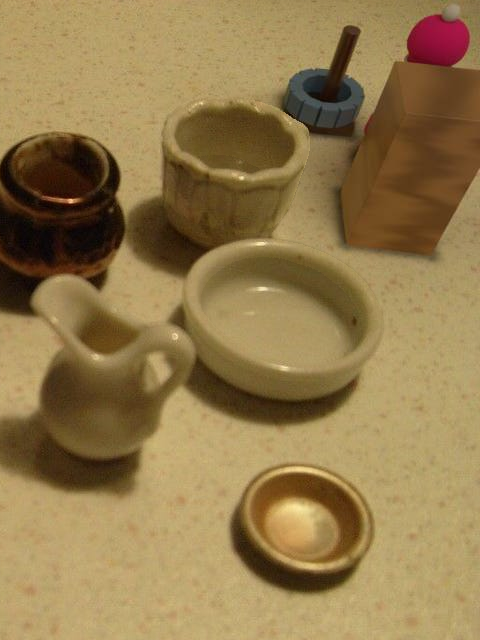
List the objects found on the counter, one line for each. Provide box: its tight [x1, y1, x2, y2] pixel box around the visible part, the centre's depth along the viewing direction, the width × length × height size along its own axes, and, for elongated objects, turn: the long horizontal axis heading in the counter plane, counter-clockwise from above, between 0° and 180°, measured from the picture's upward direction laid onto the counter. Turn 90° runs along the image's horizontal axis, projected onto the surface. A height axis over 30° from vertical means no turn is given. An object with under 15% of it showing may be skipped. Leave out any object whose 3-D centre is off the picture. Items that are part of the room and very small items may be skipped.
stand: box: [292, 24, 362, 138], centre depth 104 cm, size 7×7×12 cm
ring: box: [283, 67, 366, 128], centre depth 106 cm, size 9×9×2 cm
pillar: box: [340, 60, 480, 256], centre depth 89 cm, size 9×9×17 cm
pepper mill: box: [363, 3, 471, 136], centre depth 95 cm, size 7×7×20 cm
